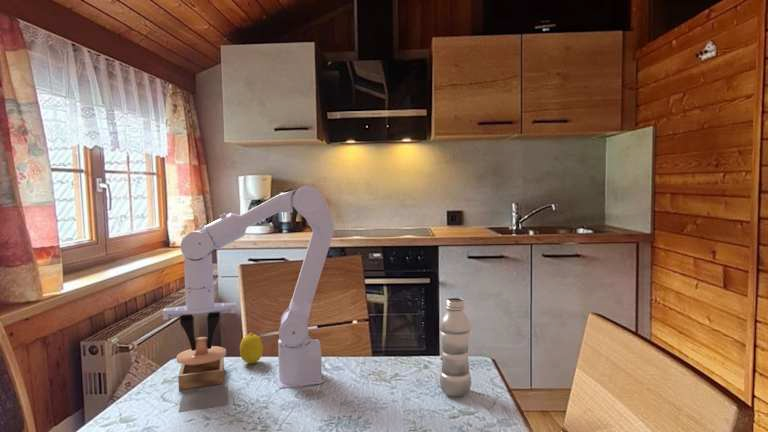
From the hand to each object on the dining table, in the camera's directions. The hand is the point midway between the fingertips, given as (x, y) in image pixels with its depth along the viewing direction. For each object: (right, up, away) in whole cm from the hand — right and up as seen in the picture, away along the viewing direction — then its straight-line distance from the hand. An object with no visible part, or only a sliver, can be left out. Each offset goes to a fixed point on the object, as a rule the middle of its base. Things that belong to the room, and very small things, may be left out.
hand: (201, 348), depth 100 cm
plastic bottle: (+55, -9, -4) cm, 56 cm away
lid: (0, -2, 0) cm, 2 cm away
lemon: (+7, -8, +13) cm, 17 cm away
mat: (+3, -9, -5) cm, 11 cm away
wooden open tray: (-2, -9, +4) cm, 10 cm away
